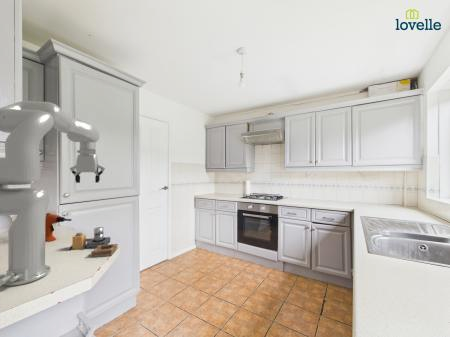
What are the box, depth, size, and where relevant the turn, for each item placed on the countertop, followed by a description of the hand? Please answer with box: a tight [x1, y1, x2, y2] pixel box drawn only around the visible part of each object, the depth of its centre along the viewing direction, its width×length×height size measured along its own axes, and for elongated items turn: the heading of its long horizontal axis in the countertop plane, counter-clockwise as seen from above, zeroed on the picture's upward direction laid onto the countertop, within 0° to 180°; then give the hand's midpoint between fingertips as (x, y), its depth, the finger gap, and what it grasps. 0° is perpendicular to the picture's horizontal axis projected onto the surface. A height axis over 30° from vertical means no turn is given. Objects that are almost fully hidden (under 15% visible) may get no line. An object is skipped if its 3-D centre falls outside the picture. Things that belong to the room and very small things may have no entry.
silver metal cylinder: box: [93, 226, 104, 242], centre depth 104 cm, size 4×4×8 cm
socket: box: [85, 236, 111, 250], centre depth 104 cm, size 8×8×3 cm
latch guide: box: [67, 237, 94, 252], centre depth 104 cm, size 13×7×1 cm, turn 10°
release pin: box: [71, 232, 87, 251], centre depth 101 cm, size 4×4×7 cm
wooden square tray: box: [91, 243, 118, 258], centre depth 95 cm, size 8×8×2 cm
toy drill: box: [45, 212, 72, 243], centre depth 109 cm, size 5×19×15 cm, turn 78°
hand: (87, 182), depth 117 cm, fingers open, 9 cm apart
